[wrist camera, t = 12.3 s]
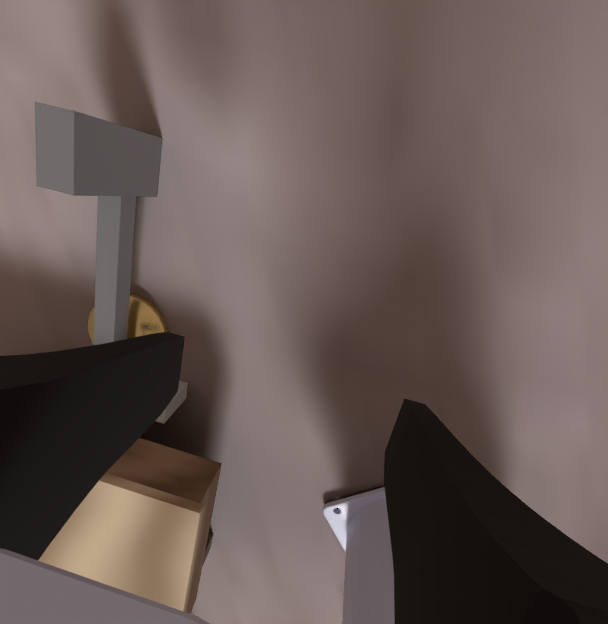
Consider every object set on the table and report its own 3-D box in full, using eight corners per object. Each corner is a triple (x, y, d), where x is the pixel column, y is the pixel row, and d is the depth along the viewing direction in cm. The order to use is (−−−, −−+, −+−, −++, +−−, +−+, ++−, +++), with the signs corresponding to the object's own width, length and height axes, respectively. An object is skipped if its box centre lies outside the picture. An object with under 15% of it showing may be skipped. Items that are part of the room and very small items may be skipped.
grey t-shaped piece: (219, 151, 18) (155, 130, 13) (186, 398, 23) (129, 461, 18) (78, 118, 19) (-43, 83, 13) (75, 365, 24) (-14, 416, 18)
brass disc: (140, 277, 22) (130, 280, 21) (186, 345, 22) (179, 351, 22) (84, 313, 23) (72, 318, 22) (130, 376, 24) (120, 383, 23)
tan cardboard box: (246, 424, 23) (200, 513, 16) (219, 553, 27) (173, 668, 20) (17, 355, 24) (-112, 412, 18) (22, 488, 28) (-82, 575, 22)
